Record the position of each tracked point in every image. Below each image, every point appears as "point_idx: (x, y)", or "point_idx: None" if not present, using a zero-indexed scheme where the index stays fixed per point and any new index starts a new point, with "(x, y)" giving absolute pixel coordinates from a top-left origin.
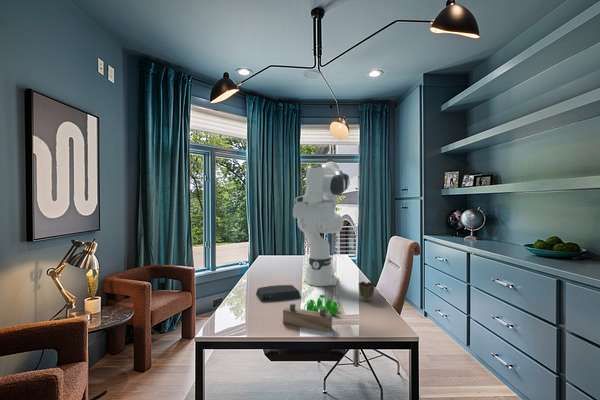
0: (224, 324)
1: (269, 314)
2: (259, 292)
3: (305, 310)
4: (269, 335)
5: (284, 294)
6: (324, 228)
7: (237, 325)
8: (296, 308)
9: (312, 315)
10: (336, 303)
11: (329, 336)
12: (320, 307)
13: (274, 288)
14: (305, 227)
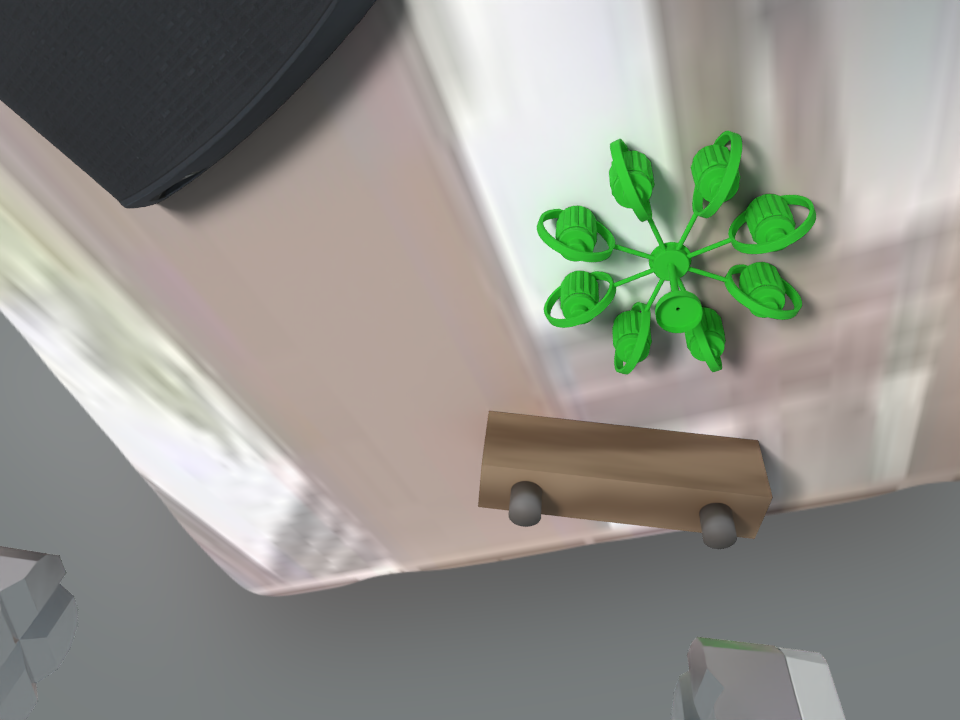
0: (238, 513)
1: (355, 376)
2: (54, 144)
3: (604, 485)
4: (482, 549)
5: (269, 104)
6: (820, 689)
7: (297, 509)
8: (542, 474)
9: (660, 527)
10: (792, 225)
11: None
12: (660, 278)
13: (105, 35)
14: (43, 597)
